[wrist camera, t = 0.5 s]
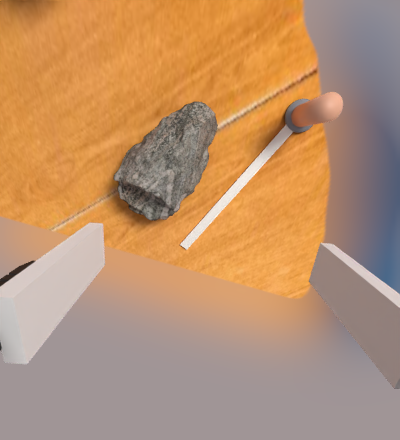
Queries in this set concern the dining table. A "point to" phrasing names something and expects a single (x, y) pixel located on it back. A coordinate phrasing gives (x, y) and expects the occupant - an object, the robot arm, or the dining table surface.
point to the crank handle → (295, 122)
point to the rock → (167, 162)
